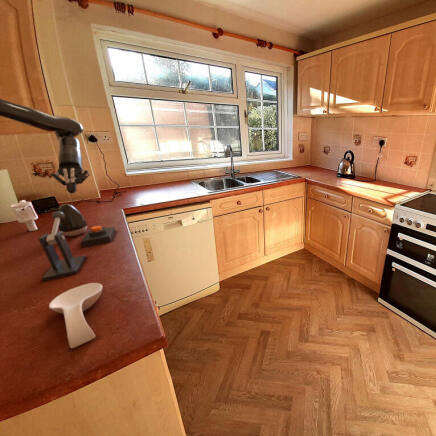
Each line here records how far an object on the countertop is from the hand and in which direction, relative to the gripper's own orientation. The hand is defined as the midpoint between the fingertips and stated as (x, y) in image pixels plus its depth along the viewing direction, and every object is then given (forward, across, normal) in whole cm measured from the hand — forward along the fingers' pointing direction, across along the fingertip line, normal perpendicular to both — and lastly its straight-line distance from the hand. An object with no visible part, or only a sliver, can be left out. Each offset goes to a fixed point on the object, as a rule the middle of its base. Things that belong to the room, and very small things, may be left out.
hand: (71, 192), depth 100 cm
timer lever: (+19, -3, -5) cm, 20 cm away
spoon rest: (+56, +10, -23) cm, 62 cm away
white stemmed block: (-6, -30, +39) cm, 50 cm away
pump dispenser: (+7, -8, +26) cm, 28 cm away
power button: (+13, +3, +14) cm, 19 cm away
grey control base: (+16, +4, +17) cm, 23 cm away
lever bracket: (+33, -2, 0) cm, 33 cm away
